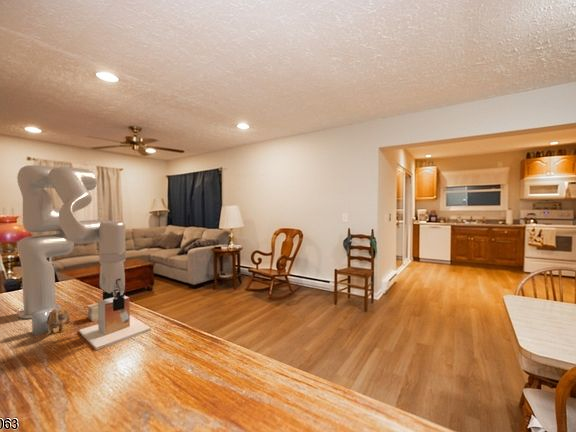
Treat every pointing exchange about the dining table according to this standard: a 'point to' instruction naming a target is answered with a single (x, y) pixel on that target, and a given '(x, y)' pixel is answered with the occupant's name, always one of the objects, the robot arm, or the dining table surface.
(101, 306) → the small box
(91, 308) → the birch block
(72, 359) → the dining table surface
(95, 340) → the mat
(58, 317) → the lion figurine
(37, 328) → the light grey domed piece
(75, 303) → the dining table surface
